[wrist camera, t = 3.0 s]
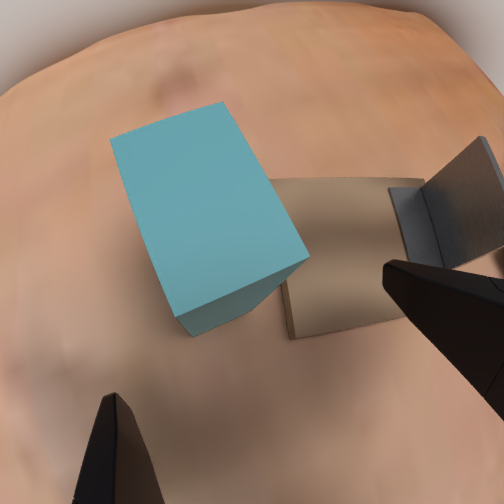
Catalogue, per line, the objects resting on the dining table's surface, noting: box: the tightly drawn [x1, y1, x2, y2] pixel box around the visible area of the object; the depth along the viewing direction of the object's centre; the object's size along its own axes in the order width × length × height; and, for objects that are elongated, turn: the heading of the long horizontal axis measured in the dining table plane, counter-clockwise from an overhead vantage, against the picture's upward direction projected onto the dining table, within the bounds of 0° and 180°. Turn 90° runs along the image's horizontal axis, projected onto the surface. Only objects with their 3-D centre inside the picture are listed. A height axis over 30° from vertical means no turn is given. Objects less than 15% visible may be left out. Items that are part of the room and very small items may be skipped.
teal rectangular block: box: [110, 102, 310, 337], centre depth 15 cm, size 6×4×12 cm, turn 26°
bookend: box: [388, 136, 504, 270], centre depth 18 cm, size 7×4×8 cm, turn 8°
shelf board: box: [269, 177, 425, 340], centre depth 22 cm, size 10×14×2 cm
